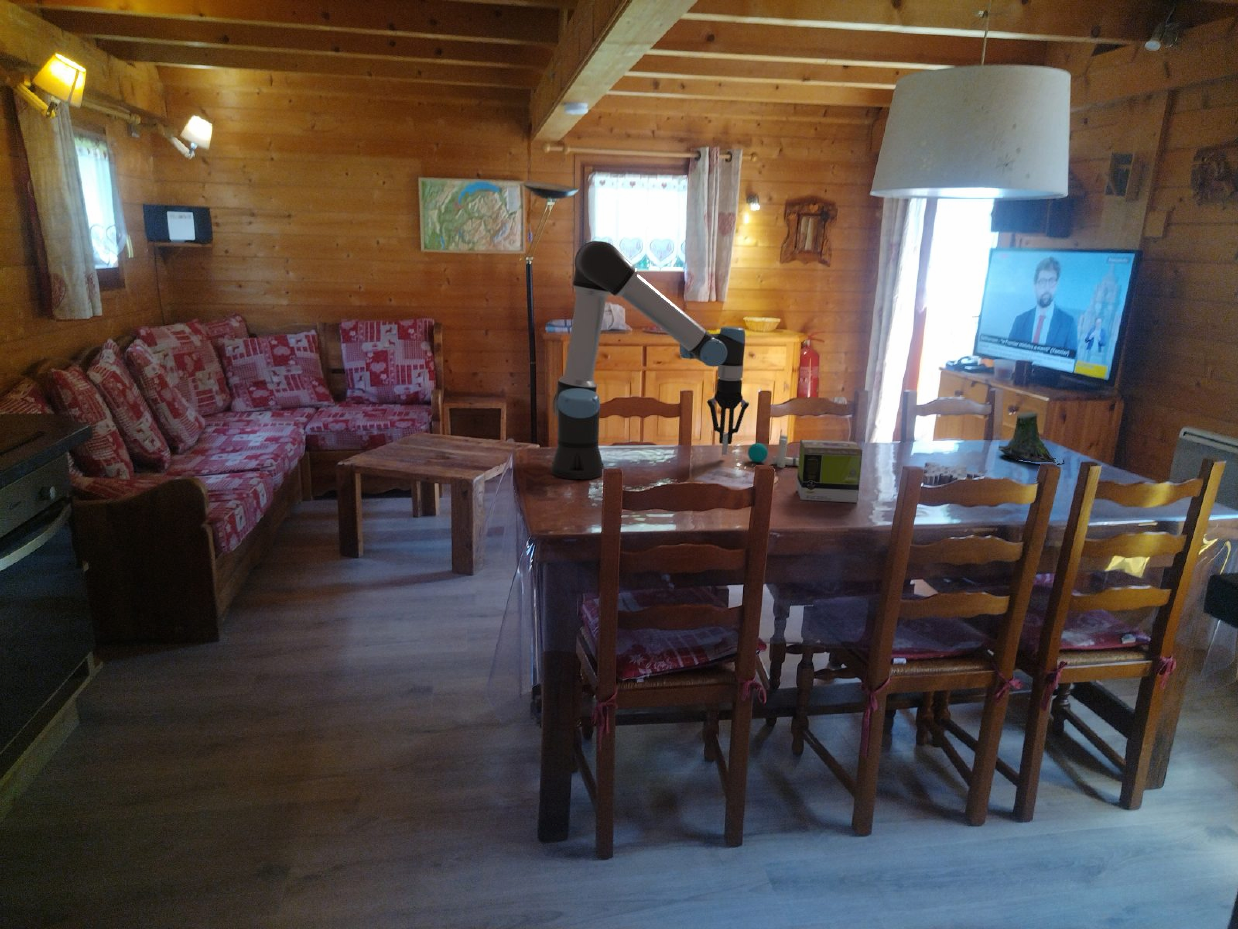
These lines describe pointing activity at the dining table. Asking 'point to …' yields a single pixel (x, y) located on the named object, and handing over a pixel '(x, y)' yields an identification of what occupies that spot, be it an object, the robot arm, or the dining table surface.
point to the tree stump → (1027, 441)
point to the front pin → (788, 461)
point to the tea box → (829, 470)
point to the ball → (757, 452)
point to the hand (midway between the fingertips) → (724, 453)
